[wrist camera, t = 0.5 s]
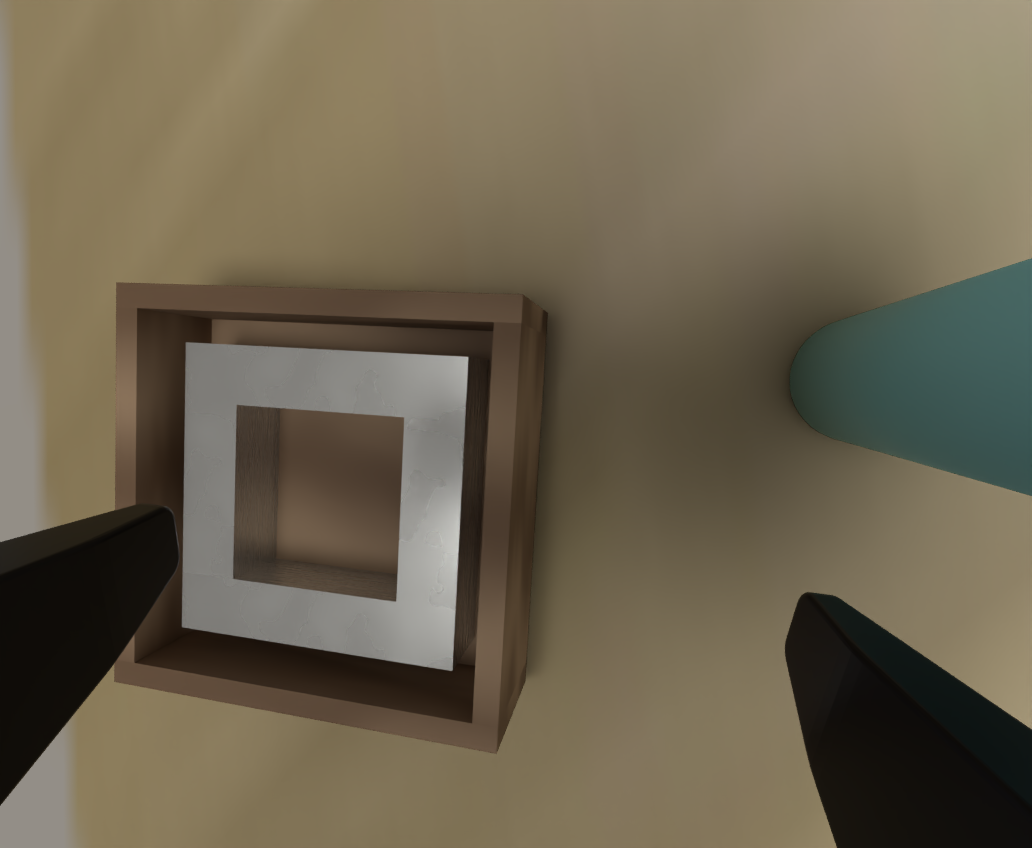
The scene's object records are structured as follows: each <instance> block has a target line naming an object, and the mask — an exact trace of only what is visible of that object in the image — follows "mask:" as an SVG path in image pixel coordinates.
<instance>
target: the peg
mask: <svg viewBox="0 0 1032 848" xmlns="http://www.w3.org/2000/svg"><path fill="white" fill-rule="evenodd" d="M790 392H791V396H792V400H793V402H794V405H795V407H796V409H797V411H798V412H799V414H800V415H801V416H802V418H803V419H804V420H805V421H806V422H807V423H808V424H809V425H810V426H811V427H812V428H814V429H815V430H817V431H818V432H820V433H822V434H824V435H826V436H828V437H831V438H834V439H837V440H840V441H844V442H847V443H851V444H854V445H858V446H861V447H865V448H868V449H871V450H875V451H878V452H882V453H885V454H889V455H892V456H896V457H899V458H903V459H906V460H909V461H913V462H916V463H920V464H923V465H927V466H930V467H934V468H937V469H941V470H944V471H947V472H951V473H954V474H958V475H961V476H965V477H968V478H972V479H975V480H978V481H982V482H985V483H989V484H992V485H996V486H999V487H1003V488H1006V489H1010V490H1013V491H1016V492H1020V493H1023V494H1027V495H1030V496H1032V258H1031V259H1028V260H1025V261H1022V262H1019V263H1016V264H1013V265H1010V266H1007V267H1003V268H1000V269H997V270H994V271H991V272H988V273H985V274H982V275H979V276H976V277H972V278H969V279H966V280H963V281H960V282H957V283H954V284H951V285H948V286H945V287H941V288H938V289H935V290H932V291H929V292H926V293H923V294H920V295H917V296H914V297H910V298H907V299H904V300H901V301H898V302H895V303H892V304H889V305H886V306H883V307H880V308H876V309H873V310H870V311H867V312H864V313H861V314H858V315H855V316H852V317H849V318H845V319H842V320H839V321H836V322H834V323H831V324H829V325H827V326H825V327H823V328H821V329H820V330H818V331H817V332H815V333H814V334H813V335H812V336H811V337H810V338H808V339H807V340H806V342H805V343H804V344H803V345H802V346H801V348H800V350H799V351H798V353H797V354H796V357H795V359H794V361H793V364H792V367H791V372H790Z"/></svg>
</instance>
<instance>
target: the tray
mask: <svg viewBox="0 0 1032 848" xmlns="http://www.w3.org/2000/svg"><path fill="white" fill-rule="evenodd" d="M547 316H548V313H547V312H546V311H545V310H543V309H542V308H541V307H539V306H538V305H536V304H535V303H534V302H532V301H531V300H530V299H528V298H527V297H526V296H524V295H523V294H489V293H455V292H421V291H387V290H353V289H319V288H285V287H251V286H217V285H184V284H150V283H116V471H115V510H118V509H121V508H125V507H129V506H132V505H136V504H140V503H146V504H153V505H161V506H167V507H169V508H170V509H171V510H172V511H173V513H174V516H175V521H176V529H177V536H178V543H179V551H180V560H179V565H178V567H177V570H176V572H175V574H174V575H173V577H172V578H171V580H170V581H169V583H168V584H167V586H166V587H165V589H164V590H163V592H162V593H161V595H160V596H159V598H158V599H157V601H156V602H155V604H154V606H153V607H152V609H151V610H150V612H149V613H148V615H147V616H146V618H145V619H144V621H143V622H142V624H141V625H140V627H139V628H138V630H137V631H136V633H135V634H134V636H133V637H132V639H131V640H130V642H129V643H128V645H127V646H126V648H125V649H124V651H123V652H122V653H121V655H120V656H119V658H118V659H117V661H116V662H115V670H114V682H119V683H124V684H129V685H135V686H140V687H145V688H150V689H156V690H161V691H166V692H172V693H177V694H182V695H188V696H193V697H198V698H203V699H209V700H214V701H219V702H225V703H230V704H235V705H241V706H246V707H251V708H257V709H262V710H267V711H272V712H278V713H283V714H288V715H294V716H299V717H304V718H310V719H315V720H320V721H326V722H331V723H336V724H341V725H347V726H352V727H357V728H363V729H368V730H373V731H379V732H384V733H389V734H395V735H400V736H405V737H410V738H416V739H421V740H426V741H432V742H437V743H442V744H448V745H453V746H458V747H463V748H469V749H474V750H479V751H485V752H490V753H495V754H497V751H498V749H499V746H500V744H501V741H502V739H503V736H504V734H505V731H506V729H507V726H508V723H509V721H510V718H511V716H512V713H513V711H514V708H515V706H516V703H517V701H518V698H519V696H520V693H521V691H522V688H523V686H524V683H525V678H526V661H527V645H528V628H529V612H530V596H531V579H532V563H533V546H534V530H535V513H536V497H537V481H538V464H539V448H540V431H541V415H542V398H543V382H544V366H545V349H546V333H547Z"/></svg>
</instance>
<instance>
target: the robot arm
mask: <svg viewBox="0 0 1032 848" xmlns="http://www.w3.org/2000/svg"><path fill="white" fill-rule="evenodd" d="M179 560H180V551H179V543H178V536H177V529H176V521H175V516H174V513H173V511H172V510H171V509H170V508H169V507H167V506H161V505H153V504H146V503H140V504H136V505H132V506H129V507H125V508H121V509H118V510H114V511H111V512H107V513H104V514H100V515H96V516H93V517H89V518H86V519H82V520H78V521H75V522H71V523H68V524H64V525H60V526H57V527H53V528H50V529H46V530H42V531H39V532H35V533H32V534H28V535H25V536H21V537H17V538H14V539H10V540H7V541H3V542H0V805H1V804H2V803H3V802H4V800H5V799H6V798H7V797H8V795H9V794H10V793H11V792H12V790H13V789H14V788H15V787H16V786H17V784H18V783H19V782H20V781H21V779H22V778H23V777H24V776H25V774H26V773H27V772H28V771H29V769H30V768H31V767H32V766H33V764H34V763H35V762H36V761H37V759H38V758H39V757H40V756H41V754H42V753H43V752H44V751H45V750H46V748H47V747H48V746H49V745H50V743H51V742H52V741H53V740H54V738H55V737H56V736H57V735H58V733H59V732H60V731H61V730H62V728H63V727H64V726H65V725H66V723H67V722H68V721H69V720H70V718H71V717H72V716H73V715H74V714H75V712H76V711H77V710H78V709H79V707H80V706H81V705H82V704H83V702H84V701H85V700H86V699H87V697H88V696H89V695H90V694H91V692H92V691H93V690H94V689H95V687H96V686H97V685H98V684H99V682H100V681H101V680H102V679H103V678H104V676H105V675H106V674H107V672H108V671H109V670H110V668H111V667H112V666H113V665H114V663H115V662H116V661H117V659H118V658H119V656H120V655H121V653H122V652H123V651H124V649H125V648H126V646H127V645H128V643H129V642H130V640H131V639H132V637H133V636H134V634H135V633H136V631H137V630H138V628H139V627H140V625H141V624H142V622H143V621H144V619H145V618H146V616H147V615H148V613H149V612H150V610H151V609H152V607H153V606H154V604H155V602H156V601H157V599H158V598H159V596H160V595H161V593H162V592H163V590H164V589H165V587H166V586H167V584H168V583H169V581H170V580H171V578H172V577H173V575H174V574H175V572H176V570H177V567H178V565H179ZM785 657H786V662H787V667H788V671H789V676H790V680H791V685H792V689H793V694H794V698H795V703H796V707H797V712H798V716H799V721H800V725H801V730H802V734H803V739H804V743H805V748H806V752H807V756H808V760H809V764H810V767H811V771H812V774H813V777H814V780H815V784H816V787H817V790H818V793H819V796H820V799H821V802H822V804H823V807H824V810H825V813H826V816H827V819H828V822H829V825H830V828H831V831H832V834H833V837H834V840H835V843H836V846H837V848H1032V729H1030V728H1029V727H1027V726H1026V725H1024V724H1023V723H1021V722H1020V721H1019V720H1017V719H1016V718H1014V717H1013V716H1011V715H1010V714H1008V713H1007V712H1005V711H1004V710H1002V709H1001V708H999V707H998V706H997V705H995V704H994V703H992V702H991V701H989V700H988V699H986V698H985V697H983V696H982V695H980V694H979V693H977V692H976V691H975V690H973V689H972V688H970V687H969V686H967V685H966V684H964V683H963V682H961V681H960V680H958V679H957V678H955V677H954V676H952V675H951V674H950V673H948V672H947V671H945V670H944V669H942V668H941V667H939V666H938V665H936V664H935V663H933V662H932V661H930V660H929V659H928V658H926V657H925V656H923V655H922V654H920V653H919V652H917V651H916V650H914V649H913V648H911V647H910V646H908V645H907V644H906V643H904V642H903V641H901V640H900V639H898V638H897V637H895V636H894V635H892V634H891V633H889V632H888V631H886V630H885V629H884V628H882V627H881V626H879V625H878V624H876V623H875V622H873V621H872V620H870V619H869V618H867V617H866V616H864V615H863V614H861V613H860V612H859V611H857V610H856V609H854V608H853V607H851V606H850V605H848V604H847V603H845V602H844V601H842V600H841V599H839V598H838V597H836V596H833V595H827V594H819V593H811V592H806V593H804V594H803V595H801V597H800V598H799V600H798V603H797V606H796V609H795V612H794V615H793V619H792V622H791V625H790V628H789V631H788V635H787V638H786V643H785Z"/></svg>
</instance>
